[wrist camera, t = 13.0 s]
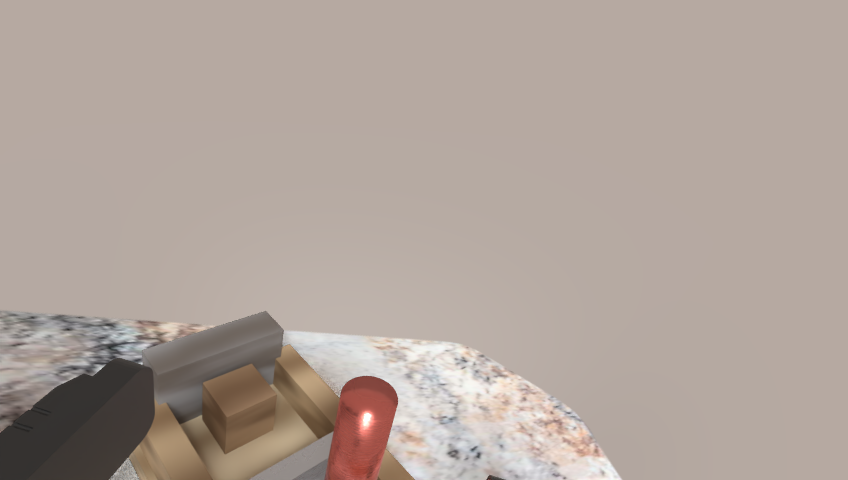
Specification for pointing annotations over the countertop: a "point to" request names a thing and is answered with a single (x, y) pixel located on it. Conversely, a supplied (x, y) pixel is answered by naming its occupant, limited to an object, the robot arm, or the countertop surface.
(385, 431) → the plunger
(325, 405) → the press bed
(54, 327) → the countertop surface
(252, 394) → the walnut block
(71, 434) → the robot arm
